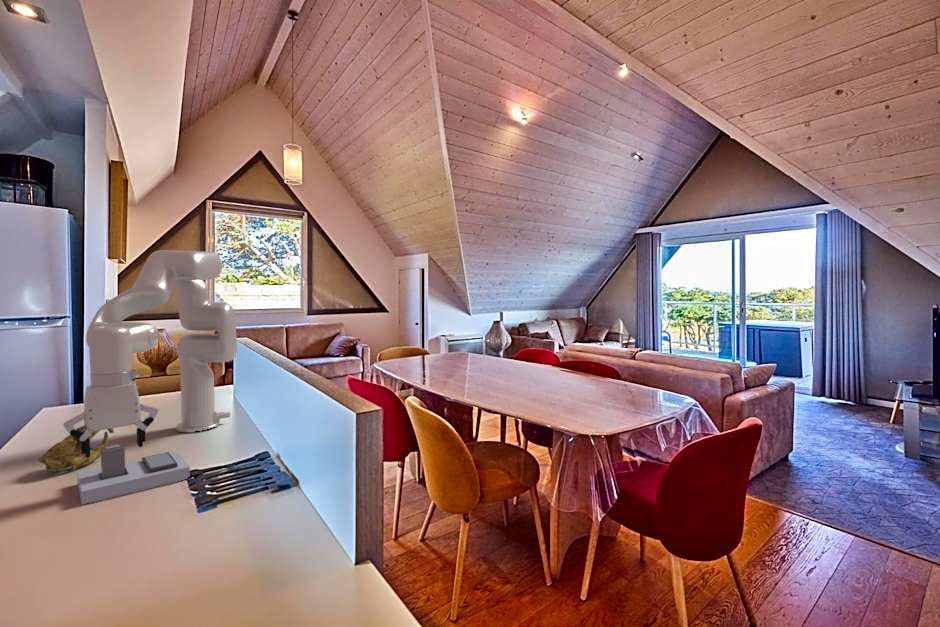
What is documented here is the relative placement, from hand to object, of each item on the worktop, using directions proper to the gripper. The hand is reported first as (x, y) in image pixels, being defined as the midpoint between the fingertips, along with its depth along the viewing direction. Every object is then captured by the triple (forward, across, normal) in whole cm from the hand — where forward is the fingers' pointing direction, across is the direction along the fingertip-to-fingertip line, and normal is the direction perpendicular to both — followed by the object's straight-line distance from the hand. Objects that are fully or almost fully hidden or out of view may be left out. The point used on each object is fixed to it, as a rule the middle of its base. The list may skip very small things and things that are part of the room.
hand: (114, 450), depth 104 cm
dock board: (+8, -4, +1) cm, 9 cm away
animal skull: (+9, +6, -20) cm, 23 cm away
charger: (+8, 0, +1) cm, 8 cm away
